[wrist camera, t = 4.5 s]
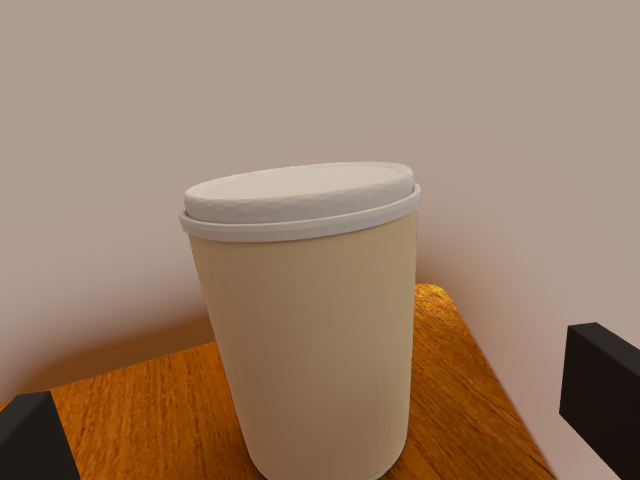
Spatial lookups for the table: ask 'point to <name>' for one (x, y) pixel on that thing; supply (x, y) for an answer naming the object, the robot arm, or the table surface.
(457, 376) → the table surface
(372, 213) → the coffee cup
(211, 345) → the table surface
